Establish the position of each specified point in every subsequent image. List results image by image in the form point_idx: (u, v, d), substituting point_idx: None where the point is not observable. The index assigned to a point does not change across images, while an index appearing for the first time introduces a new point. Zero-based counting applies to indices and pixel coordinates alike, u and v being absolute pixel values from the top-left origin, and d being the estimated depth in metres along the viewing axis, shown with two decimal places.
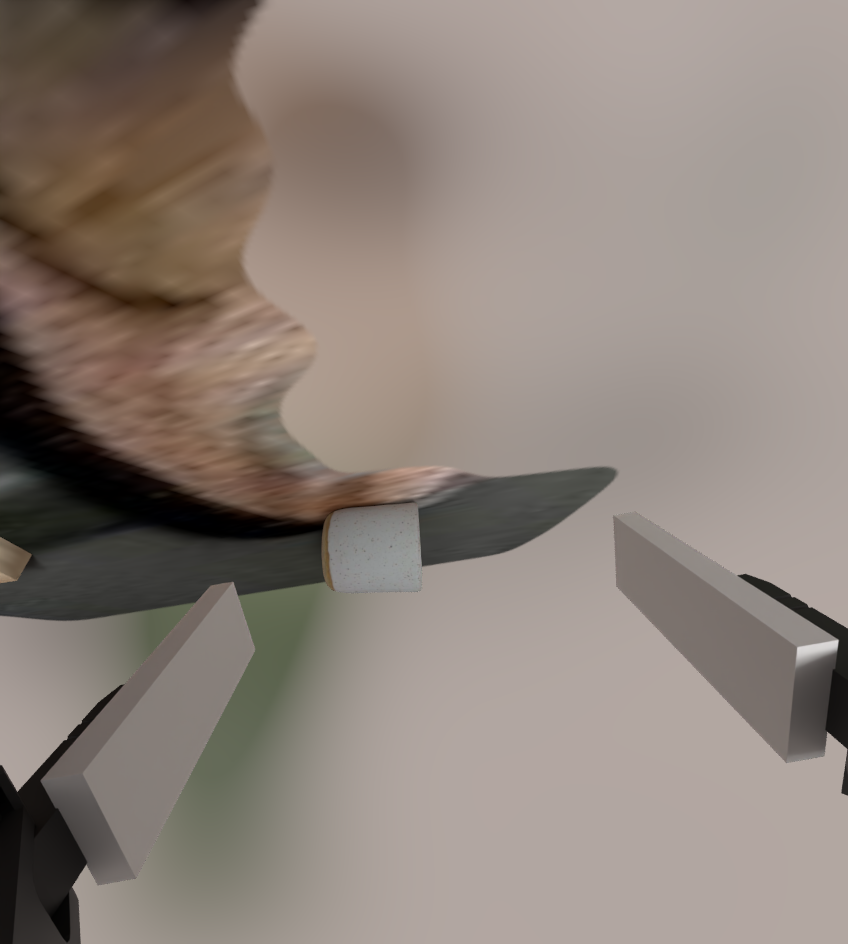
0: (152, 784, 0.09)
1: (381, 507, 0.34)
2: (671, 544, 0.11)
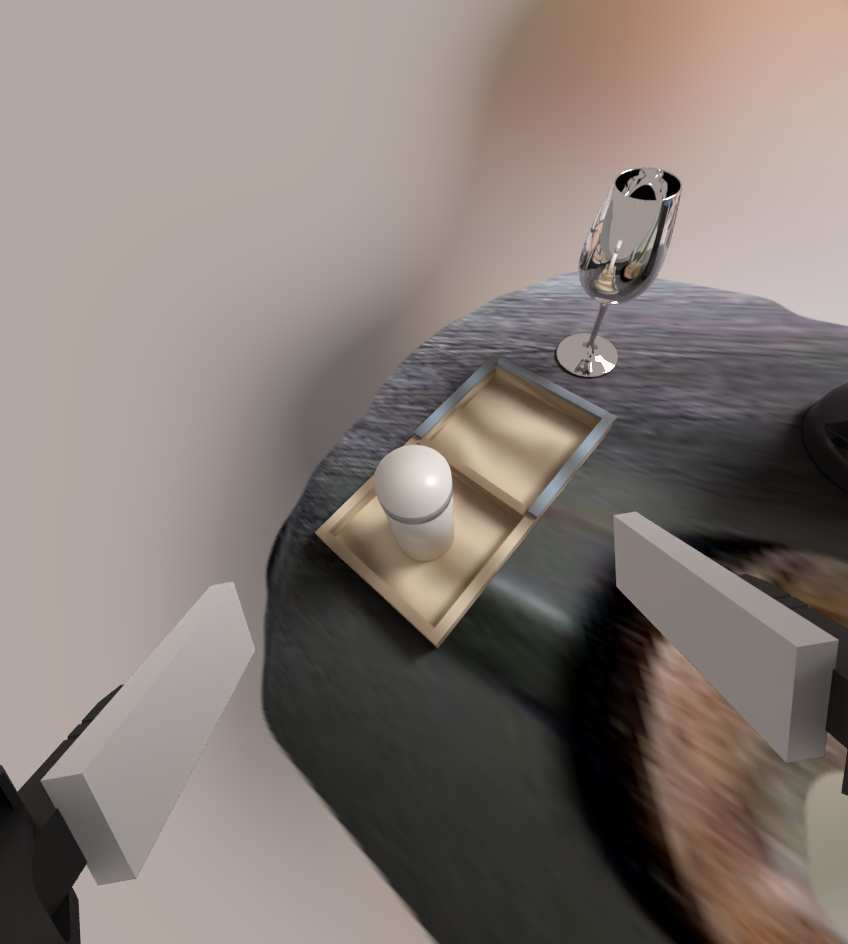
0: (152, 784, 0.09)
1: None
2: (671, 544, 0.11)
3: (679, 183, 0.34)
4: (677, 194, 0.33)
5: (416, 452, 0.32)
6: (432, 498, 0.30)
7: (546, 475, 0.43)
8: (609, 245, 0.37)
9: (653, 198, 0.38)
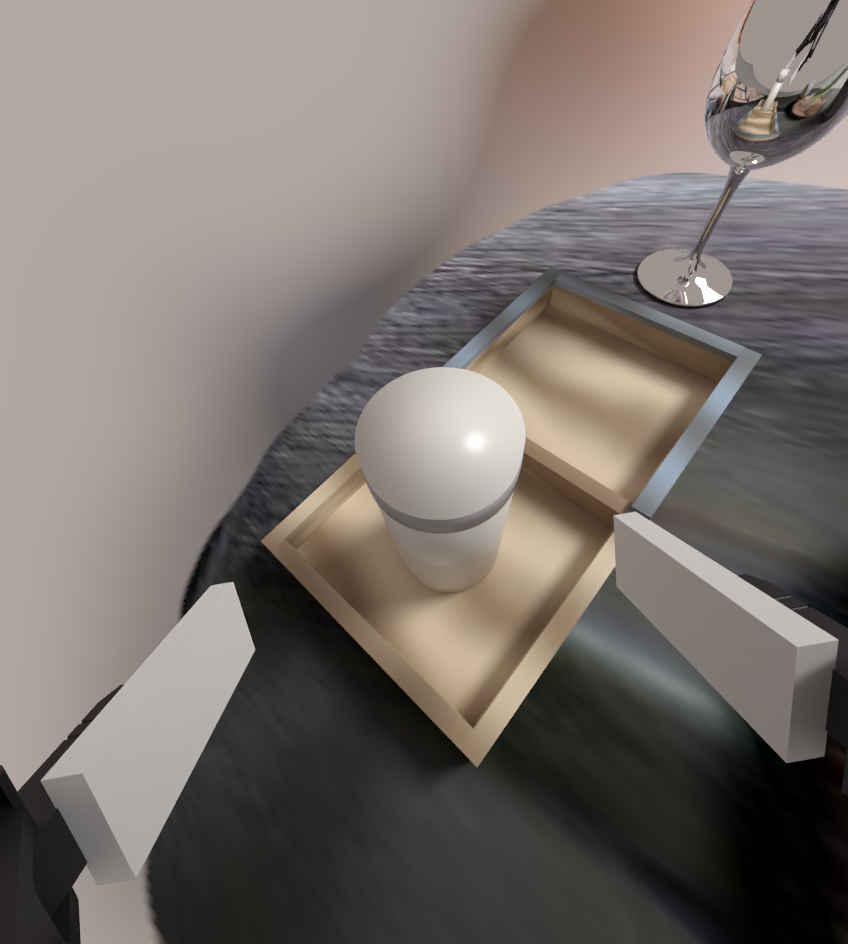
0: (152, 784, 0.09)
1: None
2: (671, 544, 0.11)
3: None
4: None
5: (445, 381, 0.15)
6: (486, 475, 0.13)
7: (644, 450, 0.27)
8: (799, 16, 0.20)
9: None
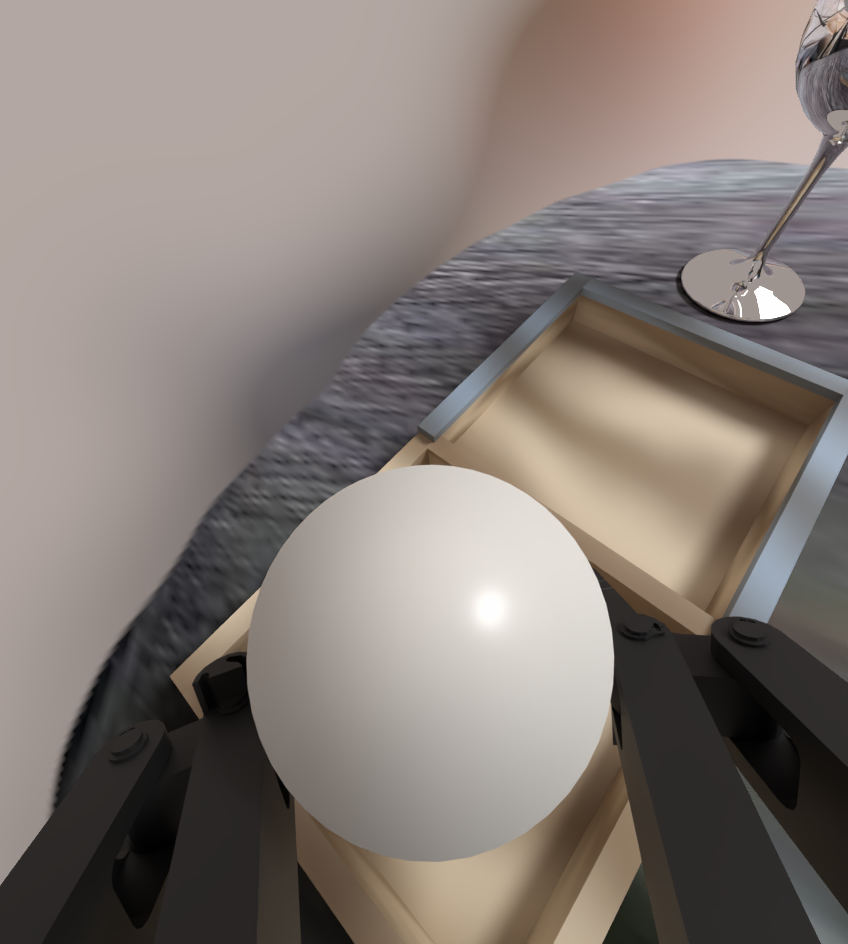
0: None
1: None
2: None
3: None
4: None
5: (439, 496, 0.08)
6: (532, 754, 0.06)
7: (717, 525, 0.19)
8: None
9: None
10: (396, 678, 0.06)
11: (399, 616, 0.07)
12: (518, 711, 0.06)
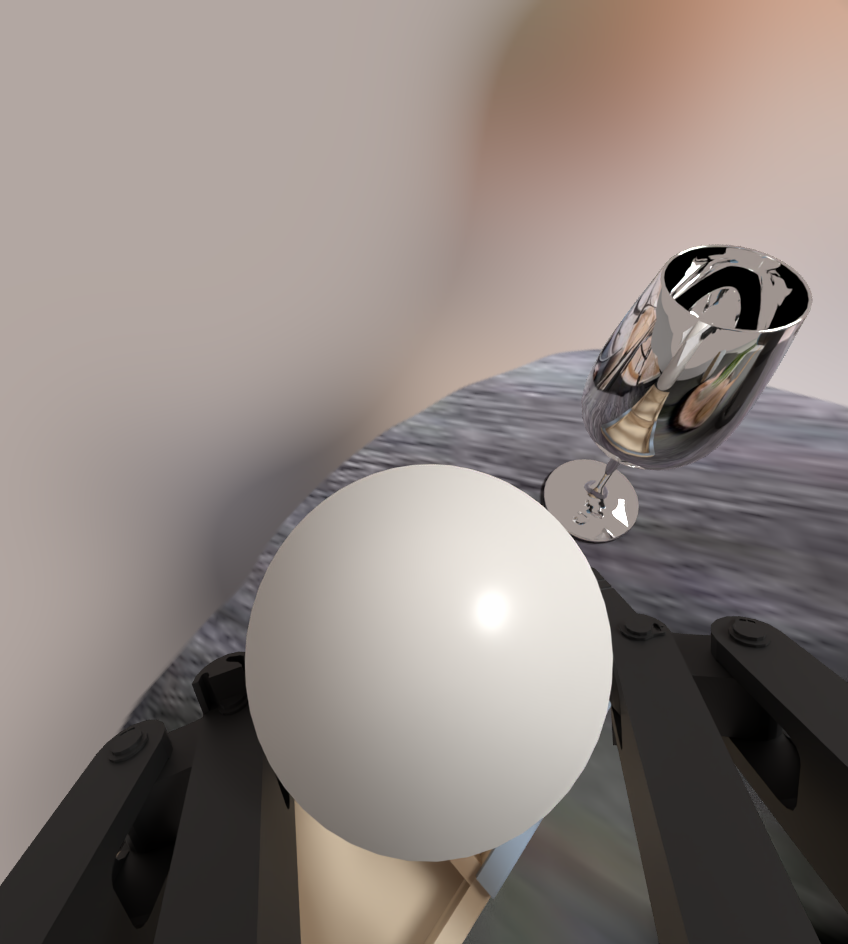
0: None
1: None
2: None
3: (801, 287, 0.16)
4: (805, 316, 0.15)
5: (438, 496, 0.08)
6: (531, 754, 0.06)
7: None
8: (645, 394, 0.18)
9: (730, 298, 0.19)
10: (394, 678, 0.06)
11: (398, 616, 0.07)
12: (517, 711, 0.06)
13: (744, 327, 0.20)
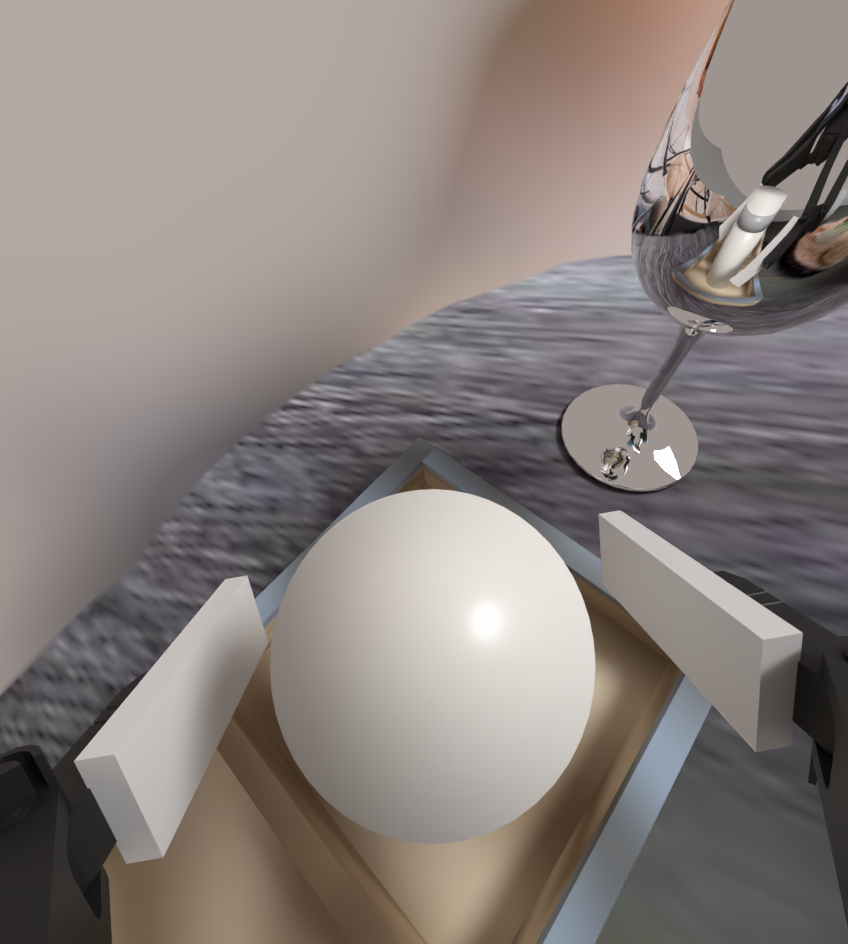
0: (176, 768, 0.09)
1: None
2: (652, 542, 0.11)
3: None
4: None
5: (440, 519, 0.09)
6: (522, 751, 0.07)
7: (535, 821, 0.15)
8: (798, 104, 0.09)
9: None
10: (403, 684, 0.07)
11: (405, 629, 0.08)
12: (510, 714, 0.07)
13: None
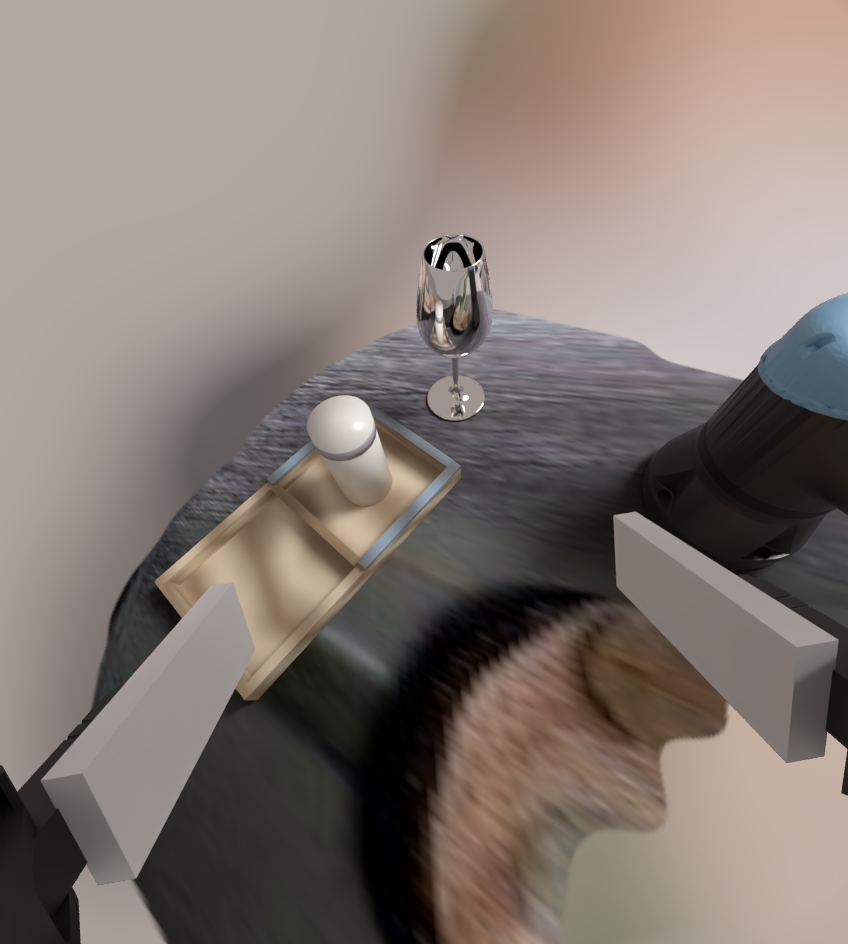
0: (152, 784, 0.09)
1: None
2: (671, 544, 0.11)
3: (482, 252, 0.36)
4: (476, 264, 0.35)
5: (344, 401, 0.38)
6: (354, 436, 0.36)
7: (391, 523, 0.44)
8: (427, 307, 0.38)
9: (474, 260, 0.39)
10: (333, 428, 0.36)
11: (334, 420, 0.37)
12: (353, 431, 0.36)
13: None
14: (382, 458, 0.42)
